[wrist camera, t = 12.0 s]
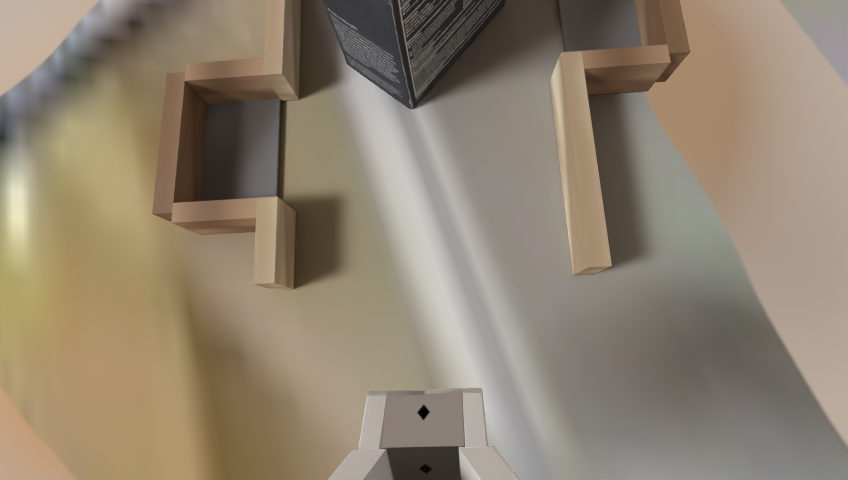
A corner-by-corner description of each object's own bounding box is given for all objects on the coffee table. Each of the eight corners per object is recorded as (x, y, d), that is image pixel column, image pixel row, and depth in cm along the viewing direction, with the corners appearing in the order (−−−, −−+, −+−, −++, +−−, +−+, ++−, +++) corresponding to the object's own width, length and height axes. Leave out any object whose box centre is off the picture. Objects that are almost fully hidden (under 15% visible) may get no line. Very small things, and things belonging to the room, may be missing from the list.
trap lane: (635, -77, 31) (654, -120, 28) (700, 269, 25) (733, 259, 22) (206, -39, 33) (182, -76, 30) (177, 294, 27) (144, 289, 24)
